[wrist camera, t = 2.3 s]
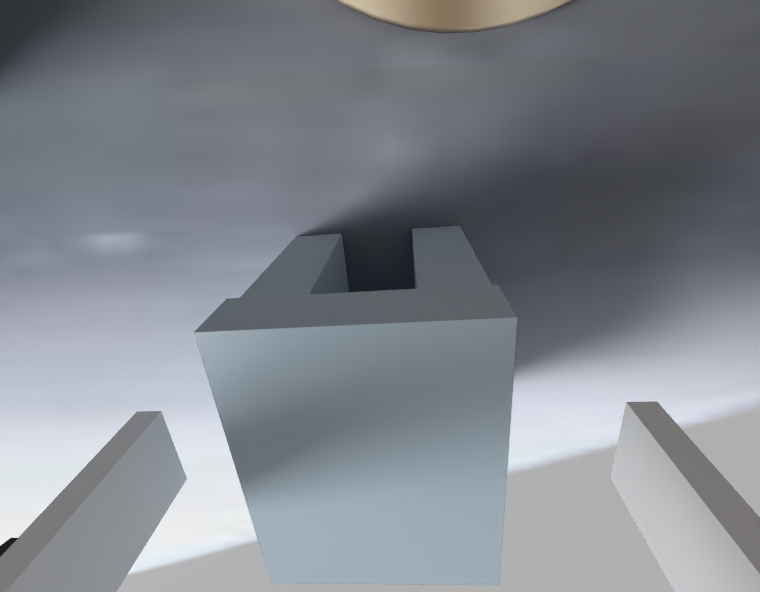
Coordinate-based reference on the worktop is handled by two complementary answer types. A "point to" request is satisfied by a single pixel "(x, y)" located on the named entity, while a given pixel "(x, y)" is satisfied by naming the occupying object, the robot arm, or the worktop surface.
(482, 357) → the grey slotted block
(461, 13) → the wooden disc
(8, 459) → the worktop surface
